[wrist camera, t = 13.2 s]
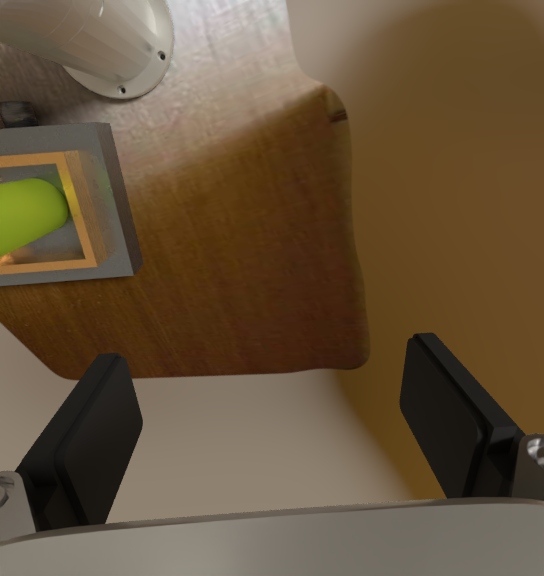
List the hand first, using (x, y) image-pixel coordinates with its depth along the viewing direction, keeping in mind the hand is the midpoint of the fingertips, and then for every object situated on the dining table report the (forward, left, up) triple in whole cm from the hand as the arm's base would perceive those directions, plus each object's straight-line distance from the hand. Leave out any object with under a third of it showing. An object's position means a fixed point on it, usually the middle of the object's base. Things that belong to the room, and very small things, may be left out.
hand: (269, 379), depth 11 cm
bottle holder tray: (-2, -25, -34) cm, 42 cm away
